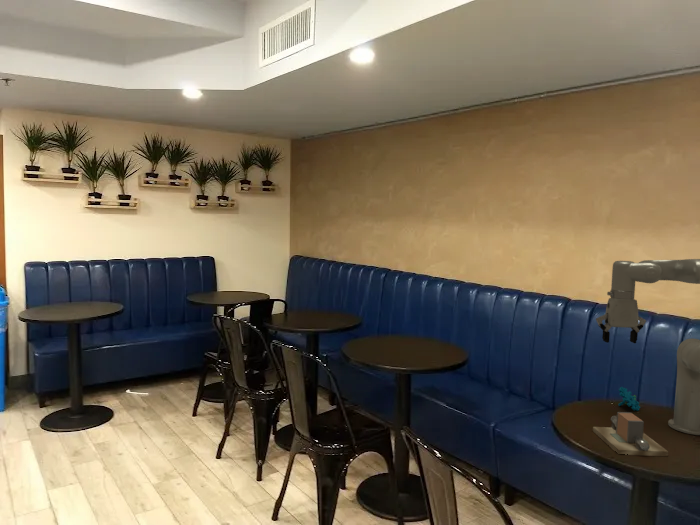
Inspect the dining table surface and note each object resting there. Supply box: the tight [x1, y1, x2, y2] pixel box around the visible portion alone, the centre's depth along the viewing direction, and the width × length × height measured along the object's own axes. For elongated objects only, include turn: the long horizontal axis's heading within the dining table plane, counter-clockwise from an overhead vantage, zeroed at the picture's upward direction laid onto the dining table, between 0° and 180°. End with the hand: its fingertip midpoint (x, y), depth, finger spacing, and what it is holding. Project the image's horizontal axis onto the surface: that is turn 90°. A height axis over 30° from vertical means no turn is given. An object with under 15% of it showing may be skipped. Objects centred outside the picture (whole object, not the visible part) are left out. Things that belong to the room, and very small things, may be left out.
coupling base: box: [592, 421, 669, 457], centre depth 169 cm, size 15×18×3 cm
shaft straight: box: [633, 436, 650, 451], centre depth 161 cm, size 2×5×2 cm, turn 178°
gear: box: [618, 386, 641, 412], centre depth 202 cm, size 11×6×10 cm
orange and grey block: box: [616, 411, 645, 443], centre depth 169 cm, size 8×4×7 cm, turn 179°
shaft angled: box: [610, 415, 617, 426], centre depth 176 cm, size 2×5×4 cm, turn 178°
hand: (619, 342), depth 188 cm, fingers open, 9 cm apart
